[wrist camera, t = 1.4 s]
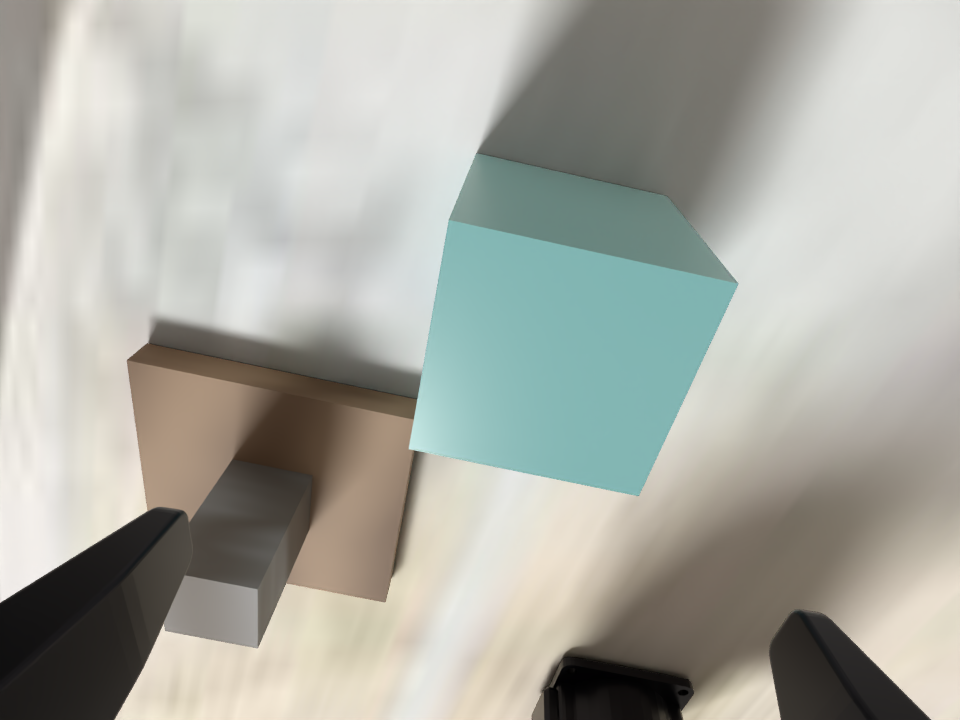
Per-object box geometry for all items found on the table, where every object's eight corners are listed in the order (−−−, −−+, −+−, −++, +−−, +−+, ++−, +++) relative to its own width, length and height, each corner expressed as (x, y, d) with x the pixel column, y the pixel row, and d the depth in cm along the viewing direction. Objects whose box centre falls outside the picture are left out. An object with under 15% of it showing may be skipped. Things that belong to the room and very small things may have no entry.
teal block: (666, 196, 16) (738, 283, 11) (606, 359, 19) (638, 496, 14) (476, 153, 16) (448, 219, 11) (443, 324, 19) (408, 449, 13)
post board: (423, 400, 21) (387, 531, 15) (391, 579, 26) (354, 724, 20) (147, 343, 20) (11, 456, 15) (169, 535, 25) (73, 671, 20)
